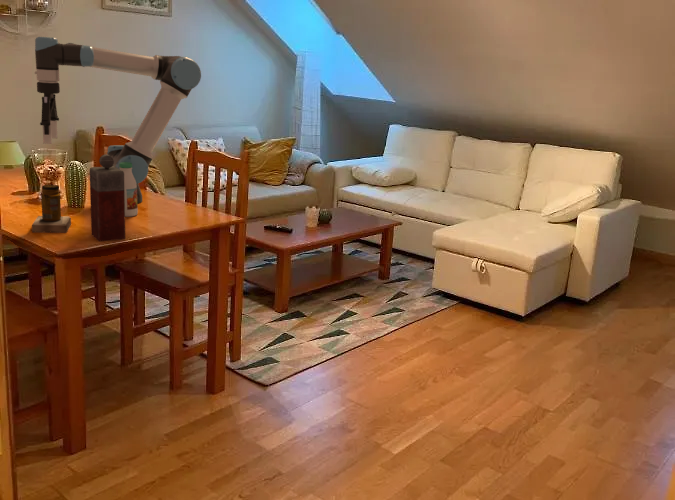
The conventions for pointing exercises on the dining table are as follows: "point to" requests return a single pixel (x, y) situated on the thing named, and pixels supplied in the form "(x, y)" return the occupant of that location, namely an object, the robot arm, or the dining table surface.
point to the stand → (52, 226)
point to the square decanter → (107, 201)
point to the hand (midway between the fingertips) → (50, 141)
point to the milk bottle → (129, 189)
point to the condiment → (50, 205)
